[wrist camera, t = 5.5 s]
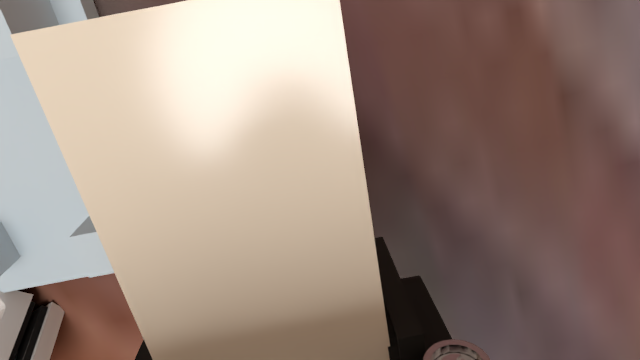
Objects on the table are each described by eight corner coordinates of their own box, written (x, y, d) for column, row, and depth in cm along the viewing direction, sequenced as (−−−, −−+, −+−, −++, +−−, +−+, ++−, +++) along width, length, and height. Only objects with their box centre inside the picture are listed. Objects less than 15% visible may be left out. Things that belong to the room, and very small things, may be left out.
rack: (183, 245, 27) (160, 300, 22) (5, 280, 27) (-59, 343, 22) (70, -62, 20) (-1, -84, 15) (-172, -15, 20) (-326, -23, 15)
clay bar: (384, 419, 17) (427, 596, 12) (275, 440, 17) (270, 626, 12) (313, -6, 11) (335, -29, 6) (143, 26, 11) (10, 35, 6)
